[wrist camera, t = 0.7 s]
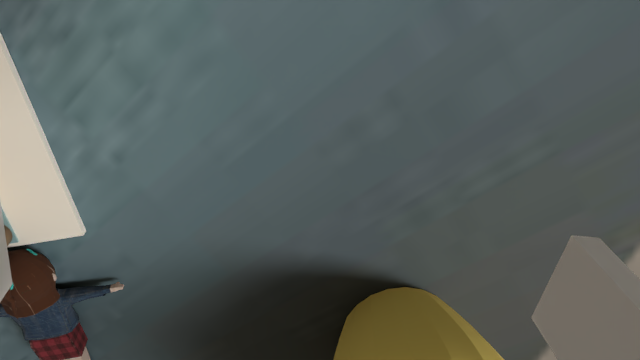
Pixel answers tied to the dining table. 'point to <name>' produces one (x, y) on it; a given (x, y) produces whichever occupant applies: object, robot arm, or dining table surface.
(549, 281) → the robot arm
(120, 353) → the dining table surface
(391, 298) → the vase
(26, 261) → the toy
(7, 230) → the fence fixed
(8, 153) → the card
